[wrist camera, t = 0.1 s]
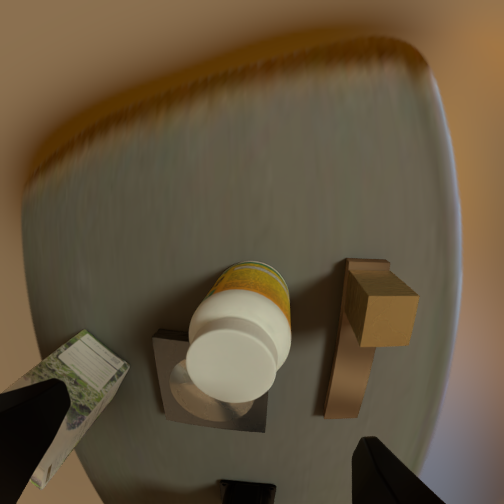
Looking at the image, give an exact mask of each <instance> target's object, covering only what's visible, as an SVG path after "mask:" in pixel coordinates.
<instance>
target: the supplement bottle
mask: <svg viewBox="0 0 504 504" xmlns="http://www.w3.org/2000/svg"><path fill="white" fill-rule="evenodd" d="M189 342H190V346H189V348H188V351H187V354H186V368H187V372H188V374H189V376H190V378H191V380H192V381H193V383H194V384H195V385H196V386H197V388H199V389H200V390H201V391H202V392H204V393H205V394H207V395H208V396H210V397H212V398H215V399H217V400H220V401H224V402H230V403H242V402H248V401H252V400H254V399H257V398H258V397H260V396H262V395H263V394H264V393H266V392H267V391H268V390H269V388H270V387H271V386H272V384H273V382H274V380H275V376H276V371H277V370H278V369H279V368H280V367H281V366H282V364H283V363H284V361H285V360H286V358H287V356H288V354H289V351H290V346H291V323H290V298H289V291H288V287H287V285H286V283H285V281H284V279H283V278H282V276H281V275H280V274H279V273H278V272H277V271H276V270H275V269H274V268H272V267H271V266H269V265H267V264H265V263H262V262H257V261H245V262H240V263H238V264H235V265H233V266H231V267H230V268H228V269H227V270H226V271H225V272H223V274H222V275H221V276H220V277H219V279H218V280H217V281H216V283H215V284H214V286H213V287H212V288H211V290H210V291H209V293H208V294H207V295H206V297H205V298H204V299H203V301H202V302H201V304H200V305H199V306H198V308H197V309H196V311H195V313H194V314H193V316H192V319H191V322H190V326H189Z"/></svg>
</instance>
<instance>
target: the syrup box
mask: <svg viewBox="0 0 504 504" xmlns="http://www.w3.org/2000/svg"><path fill="white" fill-rule="evenodd" d="M129 368H130V364H128V363H127V362H126V361H124V360H123V359H122V358H120V357H119V356H118V355H116V354H115V353H114V352H112V351H111V350H110V349H108V348H107V347H106V346H105V345H104V344H102V343H101V342H100V341H99V340H97V339H96V338H95V337H94V336H93V335H91V334H90V333H89V332H88V331H86V330H85V329H84V330H82V331H81V332H80V333H78V334H77V335H76V336H74V337H73V338H72V339H70V340H69V341H68V342H66V343H65V344H64V345H62V346H61V347H60V348H58V349H57V350H56V351H55V352H53V353H52V354H51V355H49V356H48V357H47V358H45V359H44V360H43V361H41V362H40V363H39V364H38V365H37V366H35V367H34V368H32V369H31V370H30V371H29V372H27V373H26V374H25V375H23V376H22V377H21V378H20V379H18V380H17V381H16V382H15V383H13V384H12V385H11V386H10V387H8V388H7V389H6V390H5V391H3V392H2V393H5V392H8V391H12V390H15V389H18V388H22V387H25V386H28V385H32V384H35V383H38V382H41V381H45V380H48V379H51V378H57V379H59V380H62V381H64V382H65V384H66V386H67V389H68V392H69V396H70V399H71V405H70V408H69V410H68V412H67V414H66V416H65V418H64V420H63V422H62V424H61V426H60V428H59V430H58V432H57V435H56V436H55V438H54V440H53V442H52V444H51V445H50V447H49V448H48V450H47V452H46V453H45V455H44V457H43V458H42V460H41V461H40V463H39V465H38V466H37V468H36V470H35V471H34V473H33V475H32V477H31V478H30V480H29V481H30V482H32V483H33V484H34V485H35V486H37V487H38V488H39V489H41V490H42V489H43V488H44V487H45V486H46V485H47V483H48V482H49V481H50V480H51V478H52V477H53V476H54V474H55V473H56V472H57V470H58V469H59V468H60V466H61V465H62V464H63V462H64V461H65V460H66V458H67V457H68V456H69V454H70V453H71V452H72V450H73V449H74V448H75V446H76V445H77V444H78V443H79V441H80V440H81V439H82V437H83V436H84V435H85V434H86V432H87V431H88V430H89V428H90V427H91V426H92V424H93V423H94V422H95V421H96V419H97V418H98V417H99V415H100V414H101V413H102V412H103V410H104V409H105V408H106V407H107V405H108V404H109V403H110V402H111V400H112V399H113V398H114V396H115V394H116V392H117V390H118V388H119V386H120V384H121V382H122V380H123V379H124V377H125V375H126V373H127V371H128V370H129Z"/></svg>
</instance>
